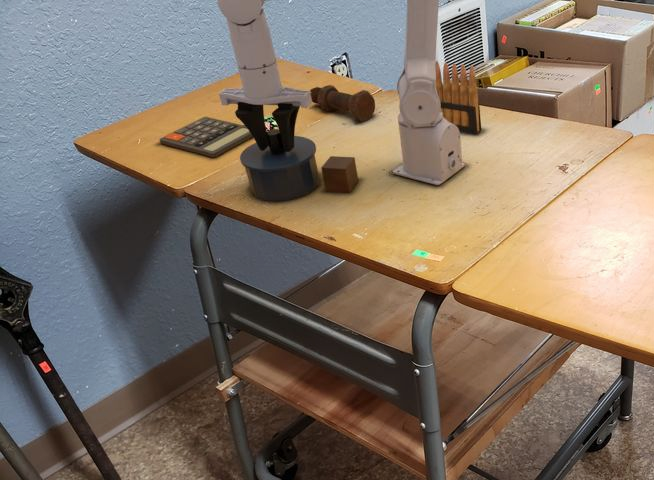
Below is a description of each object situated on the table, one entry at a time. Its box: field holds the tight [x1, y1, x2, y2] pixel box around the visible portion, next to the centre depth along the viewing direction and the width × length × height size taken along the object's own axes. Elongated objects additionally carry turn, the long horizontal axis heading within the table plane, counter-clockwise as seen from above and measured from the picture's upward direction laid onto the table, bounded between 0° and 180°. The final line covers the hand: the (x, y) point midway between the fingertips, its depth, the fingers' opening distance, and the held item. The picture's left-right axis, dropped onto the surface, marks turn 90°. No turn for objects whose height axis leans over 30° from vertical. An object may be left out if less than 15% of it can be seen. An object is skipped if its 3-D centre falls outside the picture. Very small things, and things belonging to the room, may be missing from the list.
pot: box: [244, 153, 320, 202], centre depth 116 cm, size 11×11×5 cm
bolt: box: [309, 84, 376, 123], centre depth 139 cm, size 6×5×15 cm
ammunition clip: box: [435, 60, 482, 135], centre depth 127 cm, size 11×2×12 cm, turn 60°
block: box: [320, 155, 359, 194], centre depth 115 cm, size 4×4×4 cm
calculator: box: [159, 116, 253, 158], centre depth 135 cm, size 12×1×15 cm
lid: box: [239, 128, 317, 172], centre depth 114 cm, size 12×12×4 cm
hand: (277, 148), depth 114 cm, fingers open, 4 cm apart
